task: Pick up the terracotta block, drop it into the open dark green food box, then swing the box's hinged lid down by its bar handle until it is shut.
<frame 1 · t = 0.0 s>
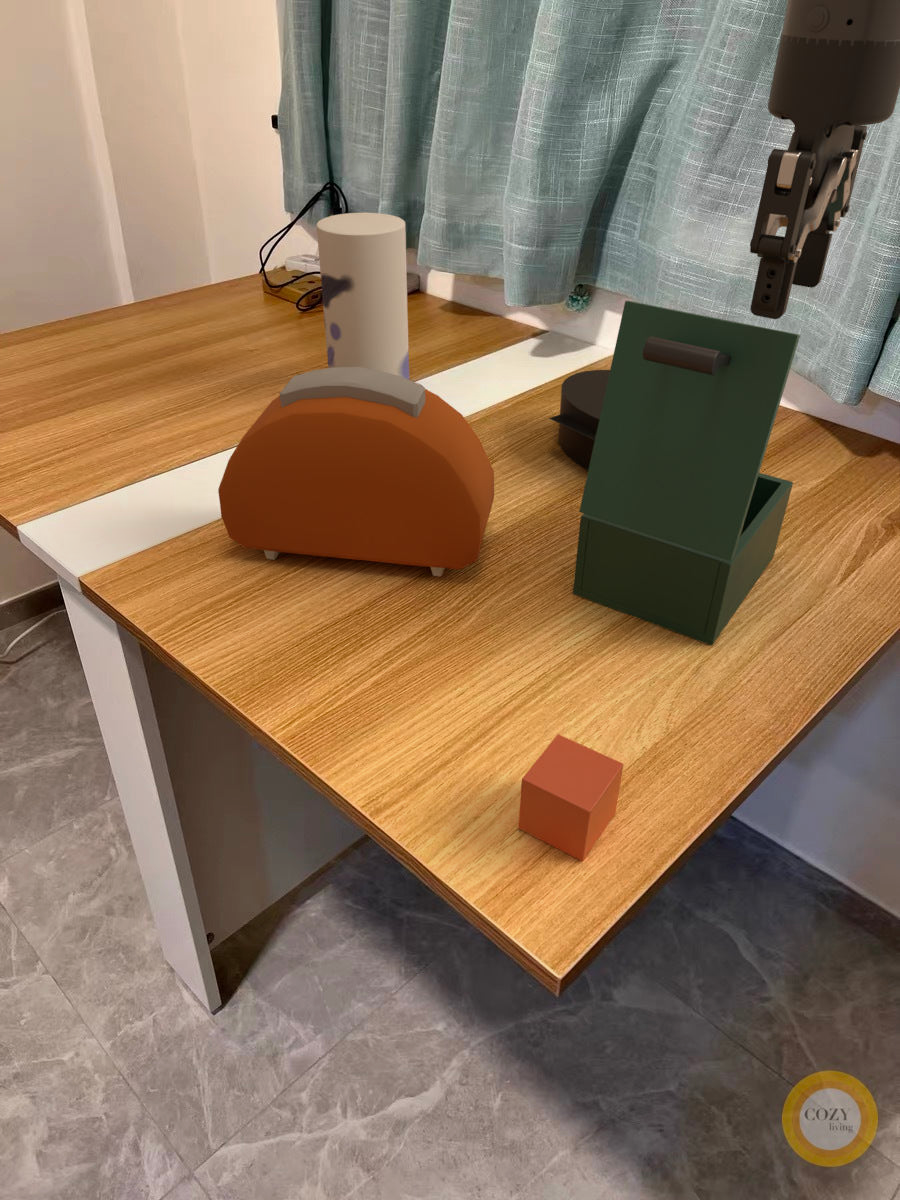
hand: (785, 299, 63), 25 cm above the table, tool pointing down, fingers open, 8 cm apart
block: (567, 820, 57), on the table
orange toaster: (363, 547, 83), on the table
lid: (669, 434, 64), point 17 cm above the table, hinge at 75.0°
waffle maker: (623, 454, 98), on the table
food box: (675, 574, 79), on the table
container: (370, 390, 112), on the table
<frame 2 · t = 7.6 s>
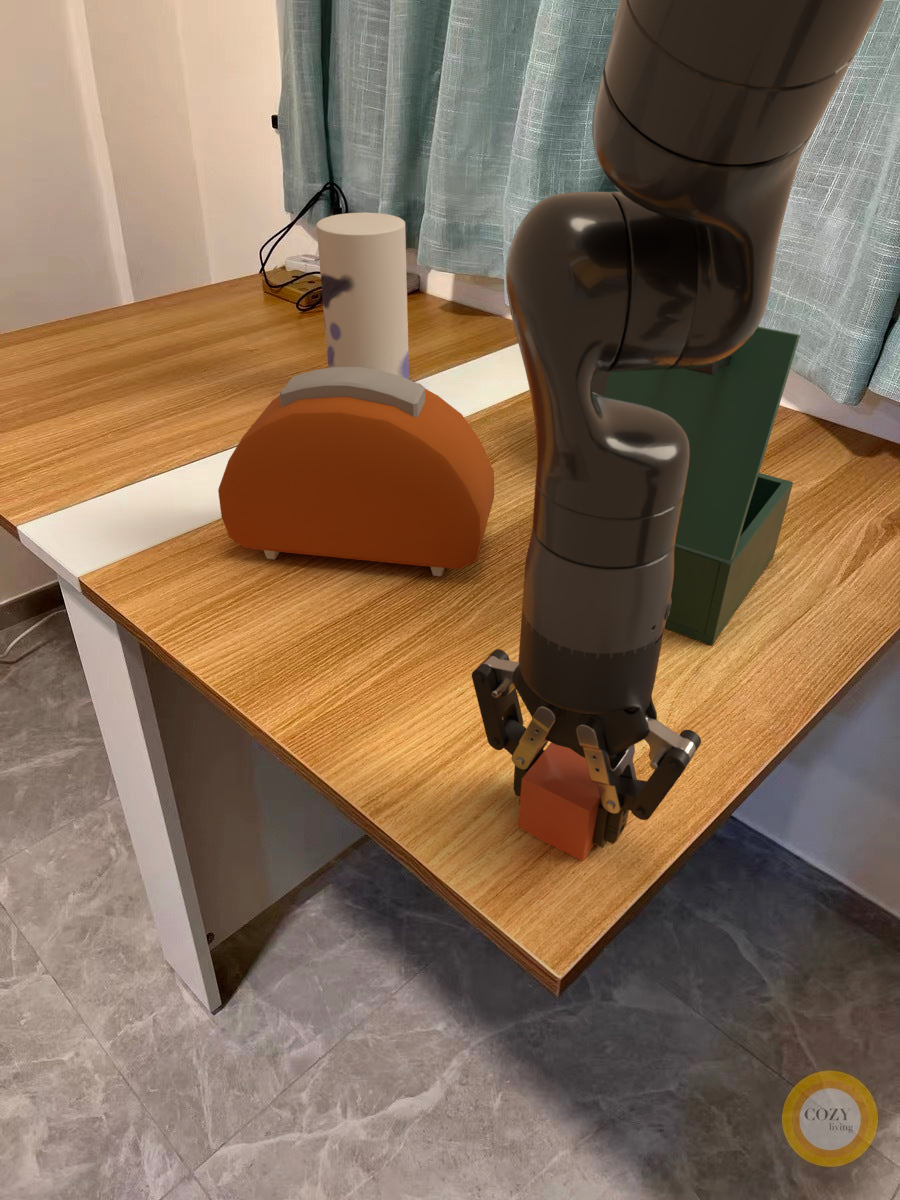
hand: (567, 817, 56), 0 cm above the table, tool pointing down, fingers closed on block, 4 cm apart
block: (566, 820, 57), on the table, touching gripper
everything else where it was.
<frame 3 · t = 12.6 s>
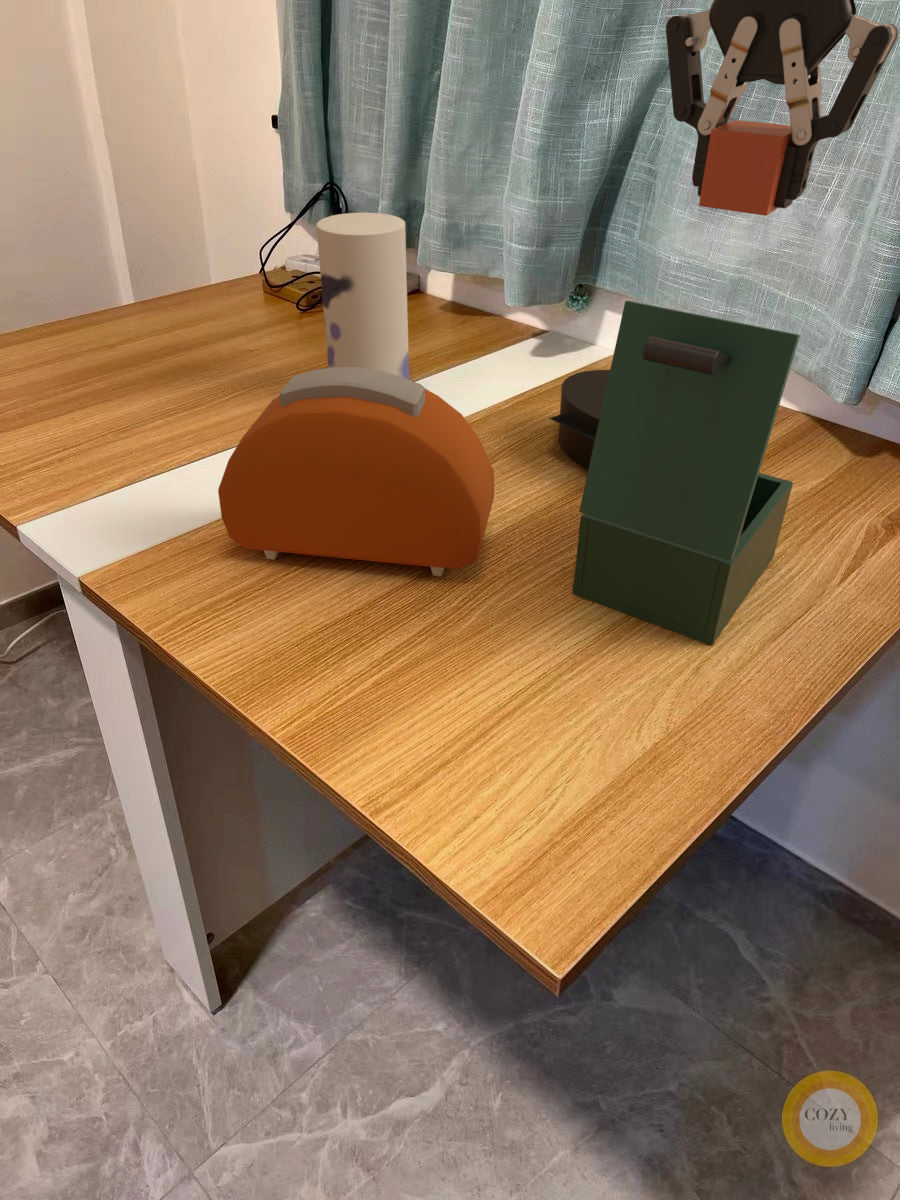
hand: (745, 199, 60), 31 cm above the table, tool pointing down, fingers closed on block, 4 cm apart
block: (743, 204, 60), point 31 cm above the table, touching gripper
everything else where it was.
when the fingers open (9 cm above the table, at t = 17.6 s): block drops 8 cm, resting on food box.
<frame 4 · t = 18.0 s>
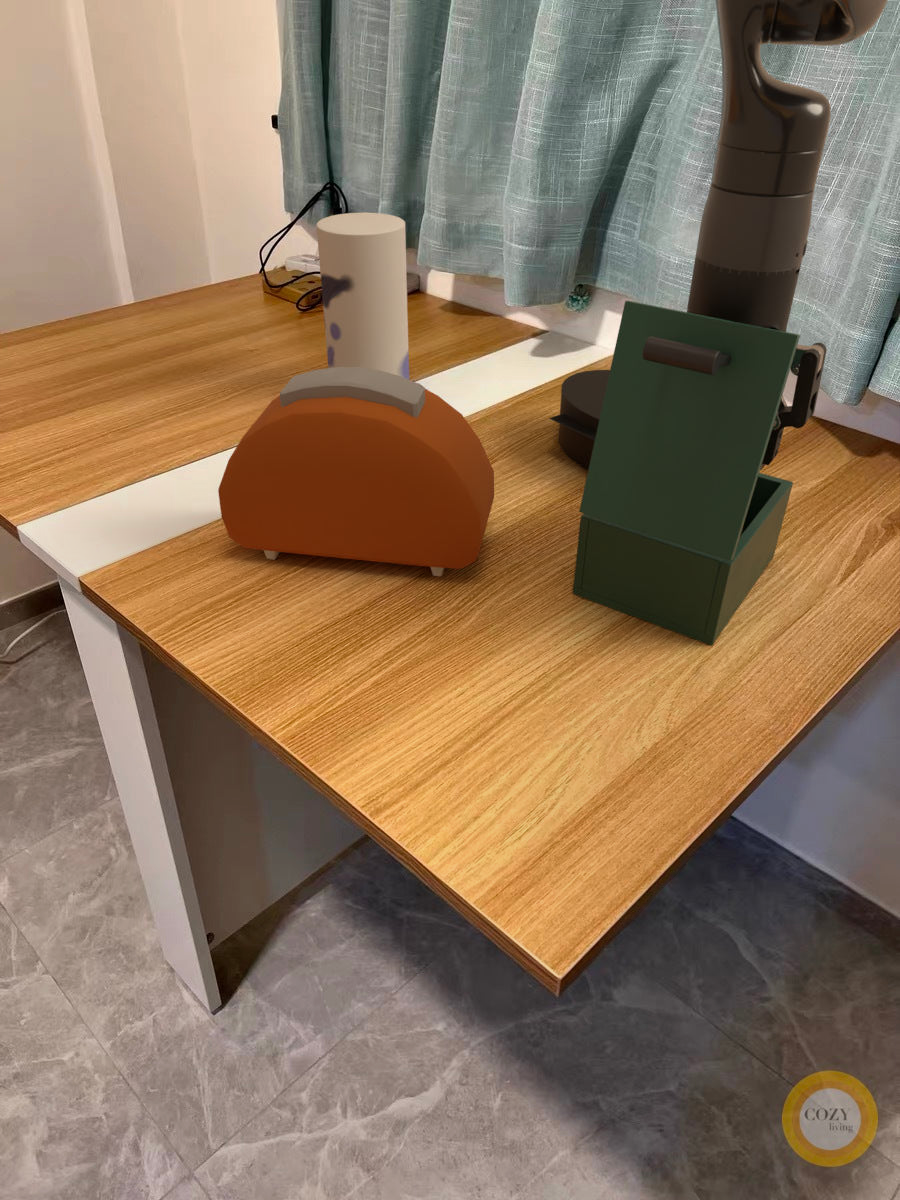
hand: (710, 452, 75), 11 cm above the table, tool pointing down, fingers open, 8 cm apart
block: (688, 551, 80), point 1 cm above the table, touching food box
everything else where it was.
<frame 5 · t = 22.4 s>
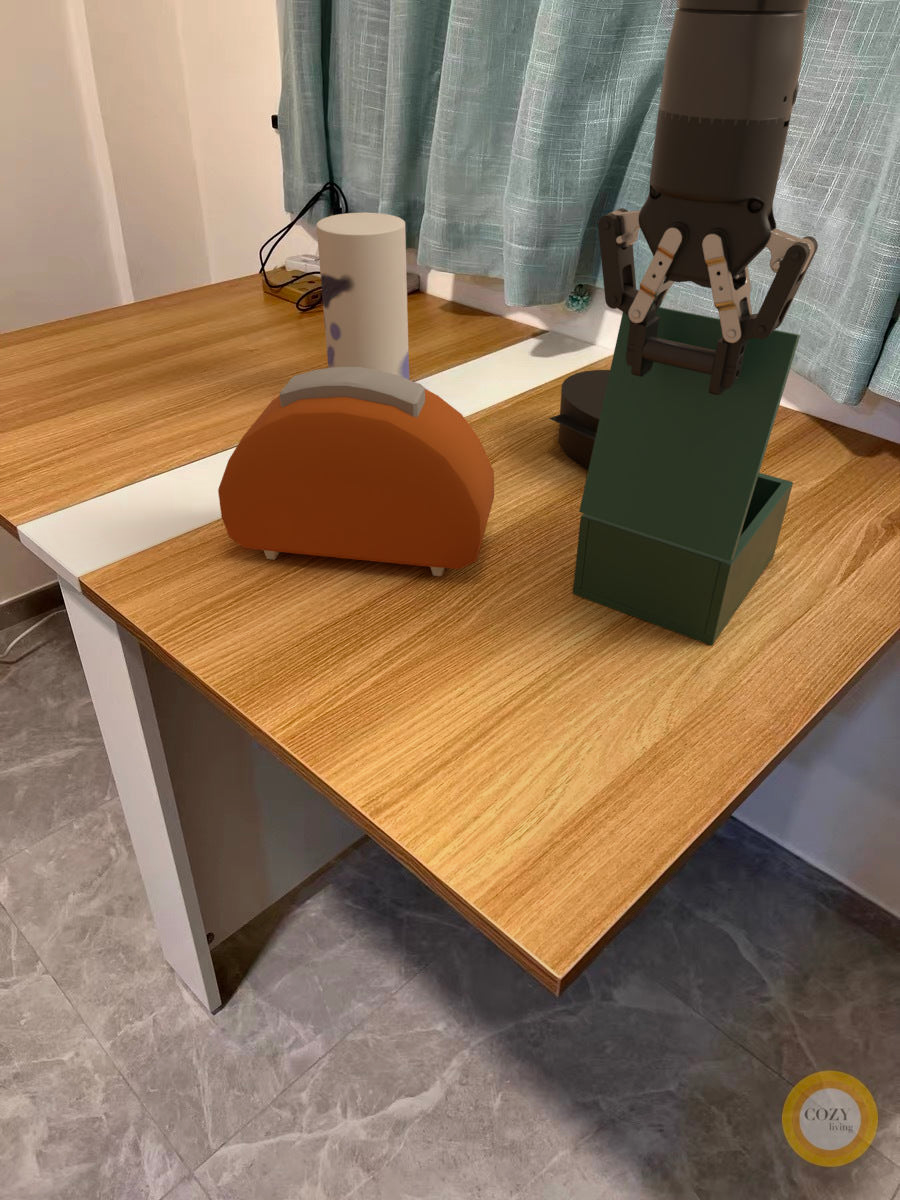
hand: (679, 380, 61), 21 cm above the table, tool pointing down, fingers closed on lid, 5 cm apart
lid: (669, 434, 64), point 17 cm above the table, hinge at 75.0°, touching gripper
everything else where it was.
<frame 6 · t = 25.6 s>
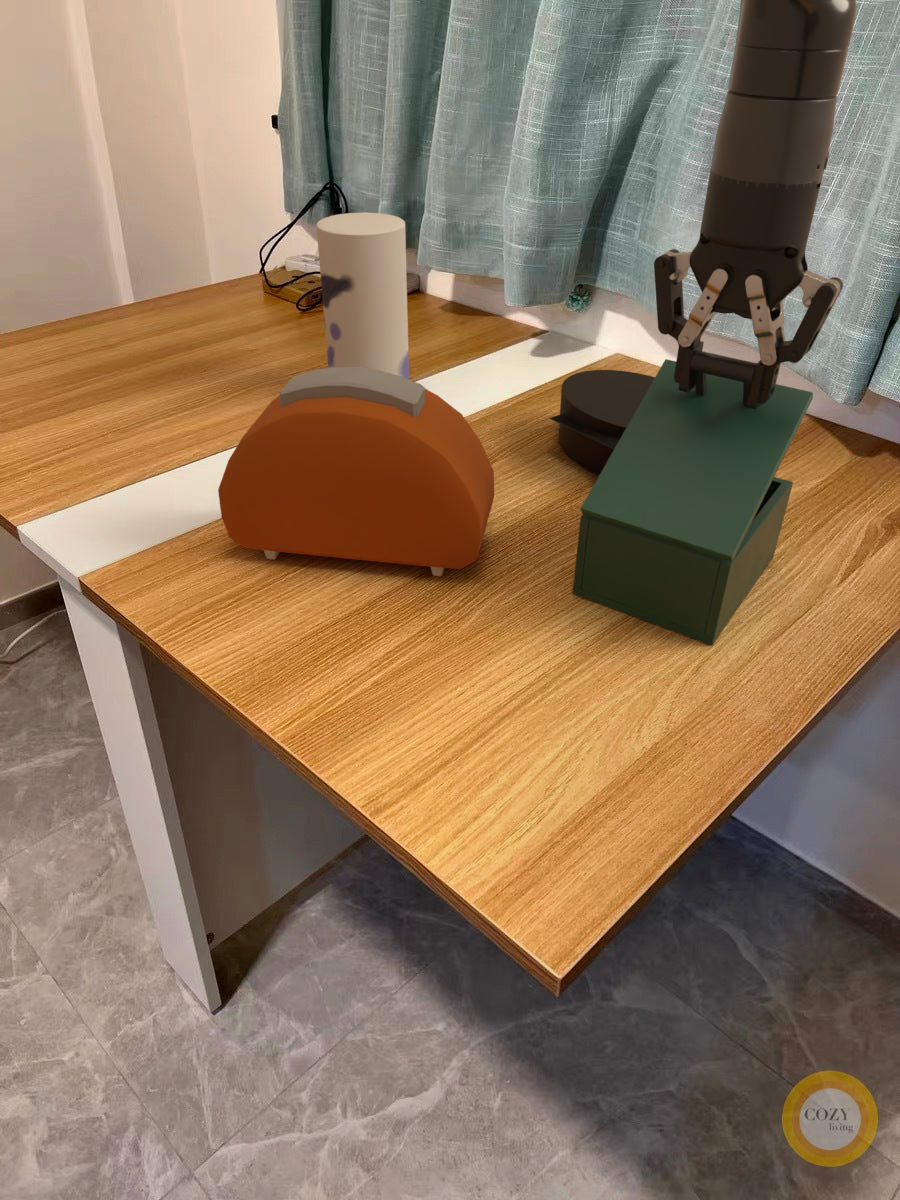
hand: (720, 396, 72), 16 cm above the table, tool pointing down, fingers closed on lid, 5 cm apart
lid: (695, 436, 69), point 14 cm above the table, hinge at 28.9°, touching gripper
everything else where it was.
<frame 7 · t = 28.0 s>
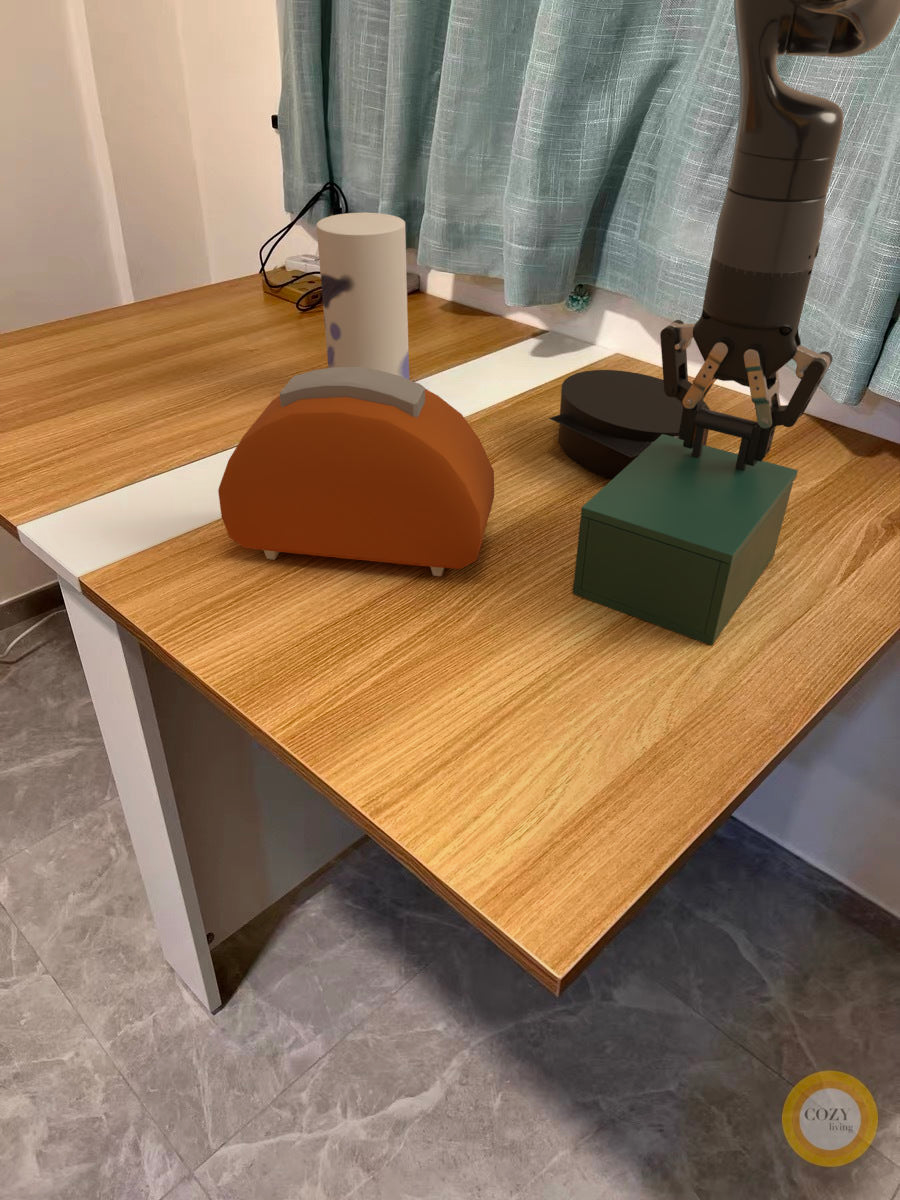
hand: (721, 452, 78), 9 cm above the table, tool pointing down, fingers closed on lid, 5 cm apart
lid: (697, 468, 73), point 10 cm above the table, hinge at -0.2°, touching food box, gripper
everything else where it was.
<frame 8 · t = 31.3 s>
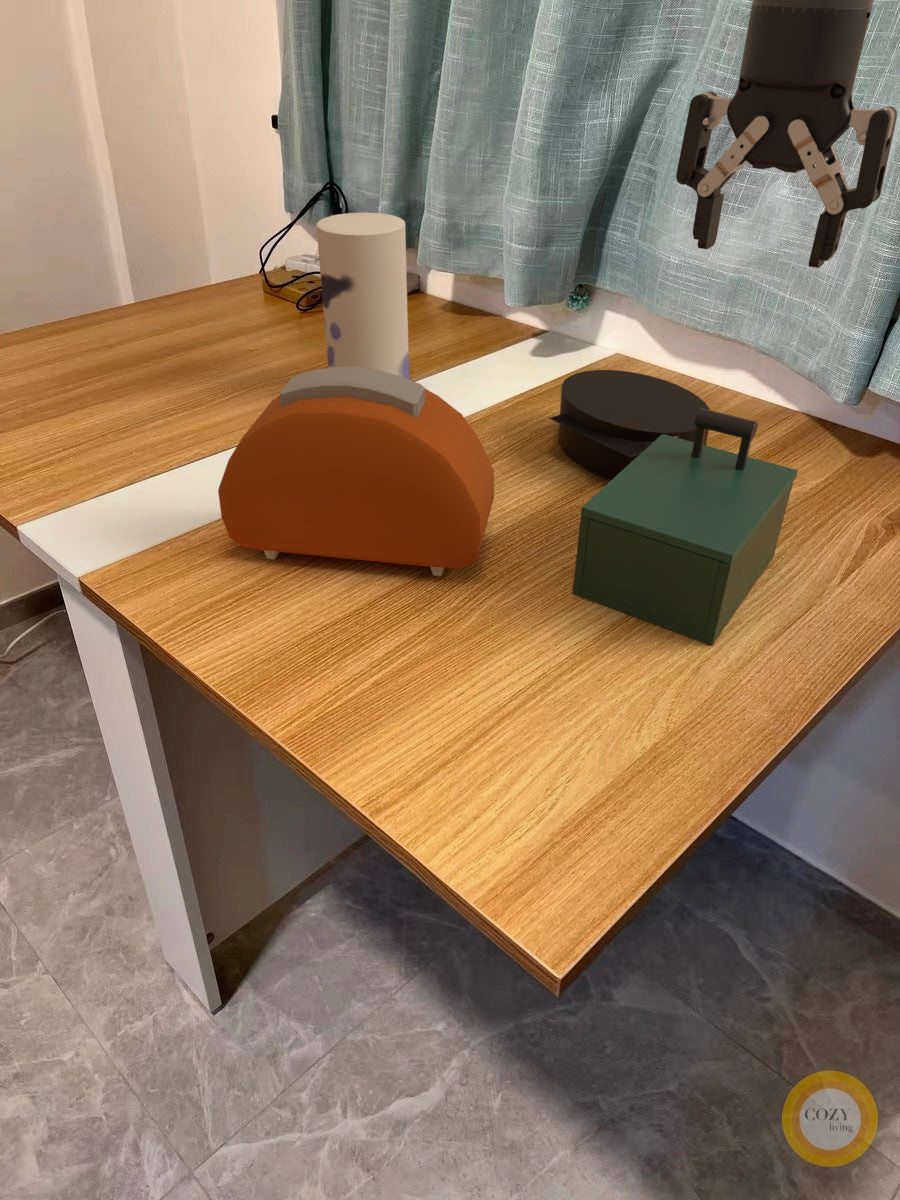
hand: (760, 255, 68), 26 cm above the table, tool pointing down, fingers open, 8 cm apart
lid: (697, 468, 73), point 10 cm above the table, hinge at -0.2°, touching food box
everything else where it was.
at the end: block inside the target area in the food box (2.9 cm from its centre), point 0.8 cm above the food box's base; lid at +0° (first picture: +75°) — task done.
